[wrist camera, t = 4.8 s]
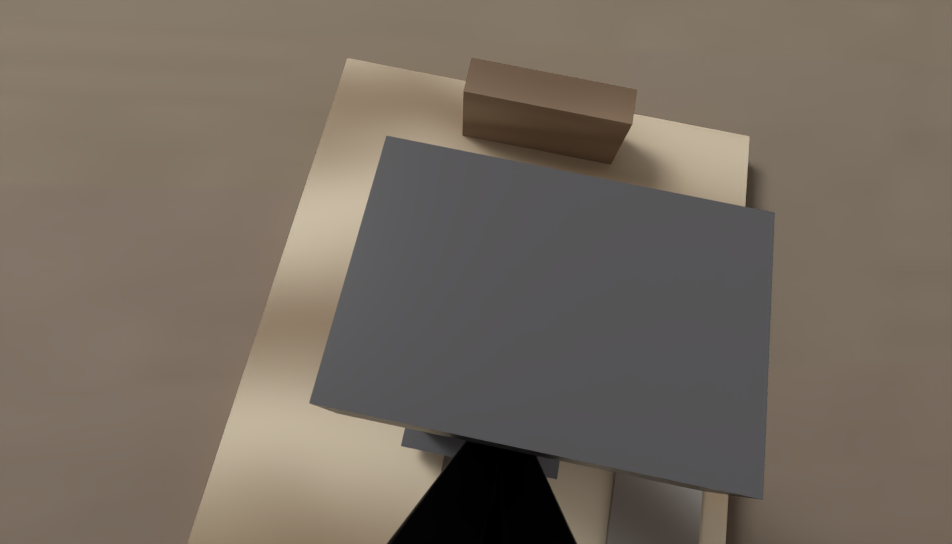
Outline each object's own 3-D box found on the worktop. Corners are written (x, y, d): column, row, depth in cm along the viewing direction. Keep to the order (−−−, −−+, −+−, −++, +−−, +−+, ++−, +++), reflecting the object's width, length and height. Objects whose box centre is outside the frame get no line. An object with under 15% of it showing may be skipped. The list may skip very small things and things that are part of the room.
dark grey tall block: (550, 478, 15) (774, 529, 5) (404, 446, 15) (290, 424, 5) (567, 367, 16) (785, 196, 5) (429, 338, 16) (381, 116, 6)
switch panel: (685, 846, 14) (758, 969, 11) (146, 722, 15) (53, 803, 11) (733, 154, 20) (789, 93, 17) (353, 79, 21) (333, 5, 17)
